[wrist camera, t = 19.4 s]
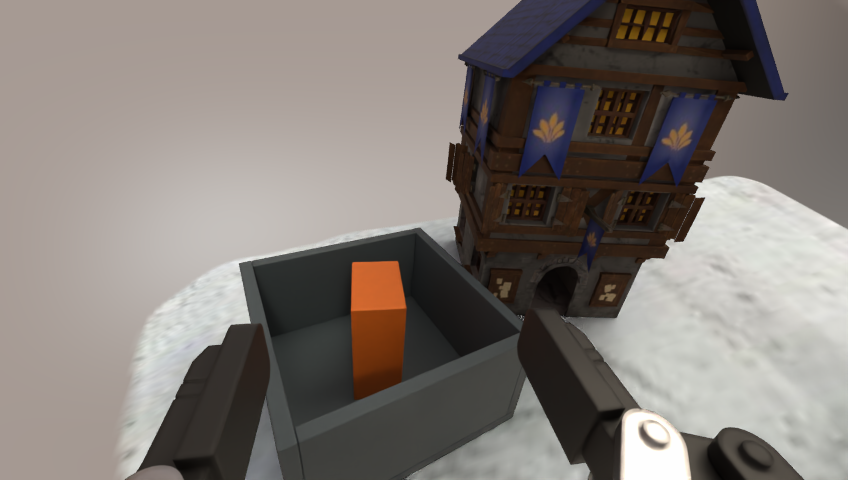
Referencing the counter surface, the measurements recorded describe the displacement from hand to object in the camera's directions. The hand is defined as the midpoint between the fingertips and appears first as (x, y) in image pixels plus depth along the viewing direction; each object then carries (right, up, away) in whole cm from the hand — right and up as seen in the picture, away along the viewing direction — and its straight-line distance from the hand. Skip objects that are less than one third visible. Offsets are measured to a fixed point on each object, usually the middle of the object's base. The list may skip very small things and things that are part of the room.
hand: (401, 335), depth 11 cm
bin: (-3, -7, +16) cm, 18 cm away
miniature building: (+12, -2, +29) cm, 31 cm away
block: (-3, -7, +15) cm, 17 cm away
